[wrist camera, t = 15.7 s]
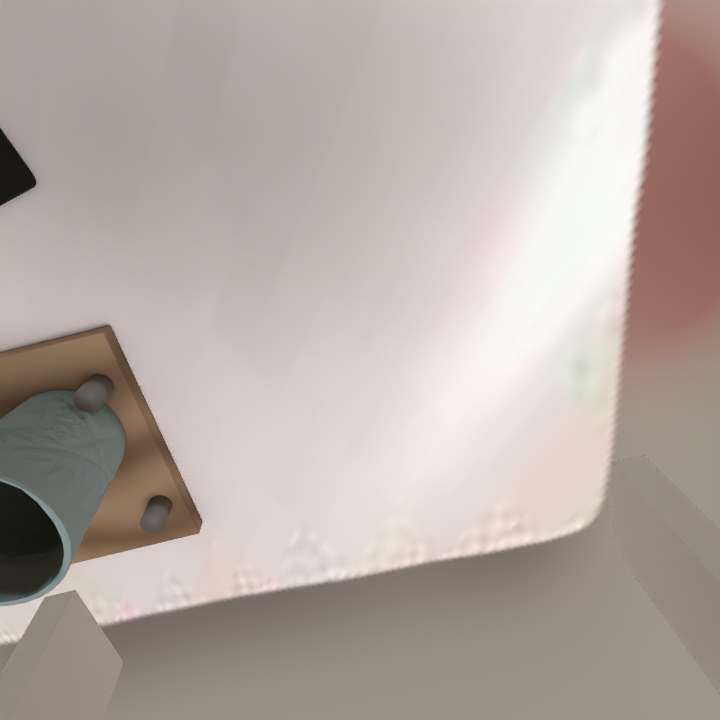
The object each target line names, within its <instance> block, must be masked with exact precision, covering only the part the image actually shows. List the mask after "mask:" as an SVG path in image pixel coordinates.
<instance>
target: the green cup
mask: <svg viewBox="0 0 720 720" xmlns="http://www.w3.org/2000/svg"><path fill="white" fill-rule="evenodd" d="M75 392H76V391H70V390H52V391H46V392H43V393H40V394H37V395H35V396H33V397H31V398H29V399H28V400H26V401H25V402H23V403H22V404H20V405H19V406H18V407H16V408H15V409H14V410H13V411H11V412H9V413H8V414H6V415H5V416H4V417H3V418H2V419H0V606H9V605H15V604H21V603H26V602H29V601H31V600H34V599H37V598H40V597H42V596H43V595H45V594H47V593H48V592H50V591H51V590H52V589H54V588H55V587H56V586H57V585H58V584H59V583H60V582H61V581H62V579H63V578H64V577H65V575H66V573H67V571H68V569H69V567H70V565H71V563H72V561H73V559H74V557H75V554H76V552H77V550H78V548H79V546H80V544H81V542H82V540H83V537H84V534H85V532H86V531H87V529H88V526H89V525H90V523H91V521H92V519H93V517H94V516H95V514H96V513H97V511H98V509H99V506H100V503H101V501H102V500H103V498H104V495H105V492H106V487H107V486H108V483H109V482H111V481H112V480H113V478H114V476H115V474H116V472H117V470H118V468H119V466H120V464H121V462H122V459H123V457H124V454H125V450H126V435H125V432H124V429H123V426H122V424H121V422H120V420H119V419H118V417H117V416H116V415H115V414H114V412H113V411H112V410H111V409H110V408H109V407H107V406H106V405H105V404H103V405H102V407H101V408H100V409H99V410H98V411H96V412H92V413H88V412H84V411H82V410H80V409H78V408H77V407H76V405H75V404H74V401H73V396H74V394H75Z"/></svg>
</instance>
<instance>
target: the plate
mask: <svg viewBox="0 0 720 720" xmlns="http://www.w3.org/2000/svg"><path fill="white" fill-rule="evenodd" d="M52 390H70V391H76V392H75V394H74V396H73V401H74V404H75V405H76V407H77V408H78V409H80V410H82V411H84V412H88V413H92V412H96V411H98V410H99V409H100V408H101V407H102V405H103V404H105V405H106V406H107V407H109V408H110V409H111V410H112V411H113V412H114V414H115V415H116V416H117V417H118V419H119V420H120V422H121V424H122V426H123V429H124V432H125V435H126V450H125V454H124V457H123V459H122V462H121V464H120V466H119V468H118V470H117V472H116V474H115V476H114V478H113V480H112V481H111V482H109V483H108V486H107V487H106V492H105V495H104V498H103V500H102V501H101V503H100V506H99V509H98V511H97V513H96V514H95V516H94V517H93V519H92V521H91V523H90V525H89V526H88V529H87V531H86V532H85V534H84V537H83V540H82V542H81V544H80V546H79V548H78V550H77V552H76V554H75V557H74V559H73V561H72V563H71V564H73V563H77V562H81V561H86V560H90V559H94V558H98V557H102V556H106V555H111V554H115V553H119V552H123V551H127V550H132V549H136V548H140V547H144V546H148V545H152V544H157V543H161V542H165V541H169V540H173V539H178V538H182V537H186V536H190V535H194V534H198V533H199V532H200V528H201V525H202V520H201V518H200V516H199V513H198V511H197V509H196V507H195V505H194V503H193V501H192V498H191V496H190V494H189V492H188V490H187V488H186V486H185V484H184V481H183V479H182V477H181V475H180V473H179V471H178V469H177V467H176V464H175V462H174V460H173V458H172V456H171V454H170V452H169V450H168V447H167V445H166V443H165V441H164V439H163V437H162V435H161V432H160V430H159V428H158V426H157V424H156V422H155V420H154V418H153V415H152V413H151V411H150V409H149V407H148V405H147V403H146V401H145V398H144V396H143V394H142V392H141V390H140V388H139V386H138V384H137V381H136V379H135V377H134V375H133V373H132V371H131V369H130V366H129V364H128V362H127V360H126V358H125V356H124V354H123V352H122V349H121V347H120V345H119V343H118V341H117V339H116V337H115V335H114V332H113V330H112V328H111V326H106V327H102V328H98V329H94V330H90V331H86V332H82V333H78V334H74V335H70V336H66V337H62V338H57V339H53V340H49V341H45V342H41V343H37V344H33V345H29V346H25V347H21V348H17V349H13V350H9V351H5V352H1V353H0V419H2V418H3V417H4V416H5V415H6V414H8V413H9V412H11V411H13V410H14V409H15V408H16V407H18V406H19V405H20V404H22V403H23V402H25V401H26V400H28V399H29V398H31V397H33V396H35V395H37V394H40V393H43V392H46V391H52Z"/></svg>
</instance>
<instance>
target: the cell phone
mask: <svg viewBox="0 0 720 720" xmlns="http://www.w3.org/2000/svg"><path fill="white" fill-rule="evenodd" d="M35 185H36V180H35V178H34V176H33V174H32V172H31V171H30V169H29V168H28V167H27V165H26V164H25V162H24V161H23V160H22V158H21V157H20V155H19V154H18V153H17V151H16V150H15V148H14V147H13V146H12V144H11V143H10V141H9V140H8V139H7V137H6V136H5V134H4V133H3V132H2V130H1V129H0V206H1V205H2V204H4V203H6V202H8V201H10V200H12V199H13V198H15V197H17V196H19V195H21V194H23V193H24V192H26V191H28V190H30V189H32V188H33V187H35Z"/></svg>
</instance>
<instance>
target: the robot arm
mask: <svg viewBox="0 0 720 720" xmlns="http://www.w3.org/2000/svg"><path fill="white" fill-rule="evenodd" d="M612 498H613V542H614V543H613V546H614V549H615V550H616V551H617V553H618V554H619V556H620V557H621V558H622V560H623V561H624V562H625V564H626V565H627V567H628V568H629V569H630V571H631V572H632V574H633V575H634V576H635V578H636V579H637V580H638V582H639V583H640V585H641V586H642V587H643V589H644V590H645V592H646V593H647V594H648V596H649V597H650V599H651V600H652V601H653V603H654V604H655V605H656V607H657V608H658V610H659V611H660V612H661V614H662V615H663V617H664V618H665V619H666V621H667V622H668V623H669V625H670V626H671V627H672V629H673V630H674V632H675V633H676V635H677V636H678V637H679V639H680V640H681V641H682V643H683V644H684V646H685V647H686V648H687V650H688V651H689V653H690V654H691V655H692V657H693V658H694V660H695V661H696V662H697V664H698V665H699V666H700V668H701V669H702V671H703V672H704V673H705V675H706V676H707V677H708V679H709V680H710V681H711V683H712V684H713V686H714V687H715V689H716V690H717V691H718V693H719V694H720V529H719V528H718V527H717V526H716V525H715V524H714V523H713V522H712V521H711V520H710V519H709V518H708V517H707V516H706V515H705V514H704V513H703V512H702V511H701V510H700V509H699V508H698V507H697V506H696V505H695V504H694V503H693V502H692V501H691V500H690V499H689V498H688V497H687V496H686V495H684V493H683V492H682V491H680V490H679V488H677V486H675V485H674V484H673V483H672V482H671V481H670V480H669V479H668V478H667V477H666V476H665V475H664V474H663V473H662V472H661V471H660V470H659V469H658V468H657V467H656V466H655V465H654V464H653V463H652V462H651V461H650V460H649V459H648V458H647V457H646V456H645V455H639V456H635V457H631V458H626V459H622V460H618V461H614V462H612ZM122 665H123V661H122V660H121V658H120V657H119V655H118V654H117V652H116V651H115V649H114V648H113V646H112V645H111V643H110V642H109V640H108V639H107V637H106V636H105V634H104V633H103V631H102V629H101V628H100V626H99V625H98V623H97V622H96V620H95V619H94V617H93V616H92V614H91V613H90V611H89V610H88V608H87V607H86V605H85V604H84V602H83V601H82V599H81V598H80V596H79V595H78V593H77V591H76V590H73V591H69V592H65V593H61V594H57V595H52V596H48V597H45V598H44V600H43V601H42V603H41V605H40V607H39V608H38V610H37V612H36V614H35V615H34V617H33V619H32V620H31V622H30V624H29V626H28V627H27V629H26V631H25V633H24V634H23V636H22V638H21V640H20V641H19V643H18V645H17V647H16V648H15V650H14V652H13V654H12V656H11V657H10V659H9V661H8V662H7V664H6V666H5V668H4V669H3V671H2V673H1V674H0V720H103V719H104V716H105V713H106V710H107V707H108V705H109V702H110V699H111V696H112V693H113V690H114V688H115V685H116V682H117V679H118V677H119V674H120V671H121V668H122Z"/></svg>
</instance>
